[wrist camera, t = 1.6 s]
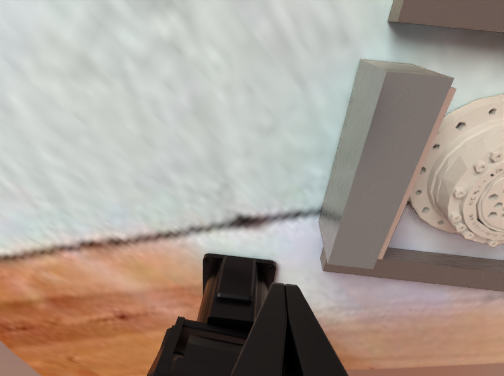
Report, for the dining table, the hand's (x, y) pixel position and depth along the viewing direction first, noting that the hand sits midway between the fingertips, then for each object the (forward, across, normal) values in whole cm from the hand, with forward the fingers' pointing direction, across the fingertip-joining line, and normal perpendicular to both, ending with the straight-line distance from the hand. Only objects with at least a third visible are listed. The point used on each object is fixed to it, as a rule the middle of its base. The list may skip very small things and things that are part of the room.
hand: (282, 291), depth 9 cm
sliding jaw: (+12, -6, 0) cm, 14 cm away
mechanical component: (+13, -14, 0) cm, 19 cm away
